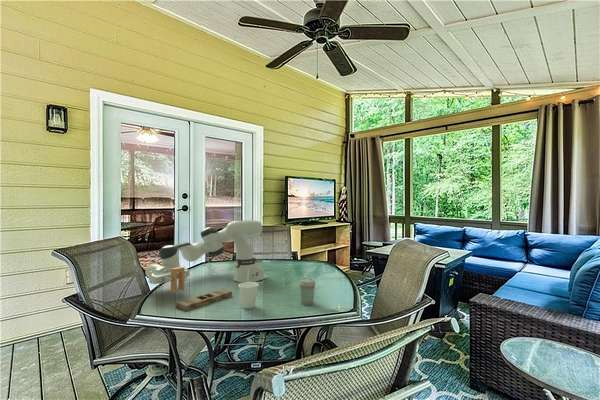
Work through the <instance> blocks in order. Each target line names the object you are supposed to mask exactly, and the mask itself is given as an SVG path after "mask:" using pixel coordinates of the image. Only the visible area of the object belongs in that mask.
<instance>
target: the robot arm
mask: <svg viewBox="0 0 600 400" xmlns="http://www.w3.org/2000/svg"><path fill="white" fill-rule="evenodd" d="M218 230H219V229H218V228H216V227H213V226H209V227H205V228H204V229H203V230H202V231H201V232H200V237H201V239H202V241H203V242H202V241H196V242H194V243H191V242H186V241H185V242H181V243H175V244H171V245H170V244H169V245H164V246H162V247H161V248H160V250H159V251H158V255H159V258H160V263H161V264H158V263H151V264H150V263H149V264H148V265H147V266H146V268H145V269H144V270H145V271H144V273H145V276H146V277H147V278H148V282H149V284H152V285H157V284H163V283H169V282H170V283H171V281H173V277H171V268H176V267H181V265H180V259H179V254H178V253H179V251H180V254H181V256H182V257H183V259H184V261H187V262H190V263H192V262H195V261H198V260H199V259H200V258H202V257H203V256H204V255H205V254H207V256H210V257H212V258H216V257H217V258H218V257H220V256H222V255H223V254H224V253H225V247H224V244H223V243H231V242H233V243H234V245H235V260H234V261H235V262H234V263H235V265H234V266H235V271H234V276H233V281H234V282H238V283H244V282H259V281H262V280H266V279H268V275H267V274H265V271H264V268H263V267H261V265H259V264H258V263H256V262H258V261H259V258H257V257H256V258H255V257H254V246H253V245H252V244H251V243H250V242H249V241H247V239H248V238H249V239H250V238H253V237H256V236H259V235H261V234H262V232H263V224H262V223H261V221H259V220H251V219H250V220H235V221H231V222H229V223H228V224H227V225H226V227H224V228H223V229H221V230H219V231H218ZM190 274H191V273H190V270H189V269H187V268H186V269H185V279H186V278H187V277H189V276H190ZM177 280H178V273H177Z"/></svg>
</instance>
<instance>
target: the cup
mask: <svg viewBox="0 0 600 400" xmlns="http://www.w3.org/2000/svg"><path fill="white" fill-rule="evenodd" d="M238 289H239V294H240V302H241V307H242V308H243V309H246V310H249V309H253V308H255V305H256V301H257V299H256V298H257V294H258V289H259V282H257V281H255V282H239V283H238Z"/></svg>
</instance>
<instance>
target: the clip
mask: <svg viewBox="0 0 600 400" xmlns="http://www.w3.org/2000/svg"><path fill="white" fill-rule="evenodd" d="M185 268H186V267H185V266H180V267H176V268H171V277H173V281H171V282H170V292H172V293H177V292H178V290H180V291H185V289H186V288H185V287H186V285H185V279H186V278H185ZM177 273H178V279H177Z"/></svg>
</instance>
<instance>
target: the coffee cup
mask: <svg viewBox="0 0 600 400" xmlns="http://www.w3.org/2000/svg"><path fill="white" fill-rule="evenodd" d="M298 285H299V294H300V295H299V296H300V304H301V305H303V306H312V305H314V295H315V288H316V281H315V279H314V278H307V277H305V278H301V279H299V283H298Z"/></svg>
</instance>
